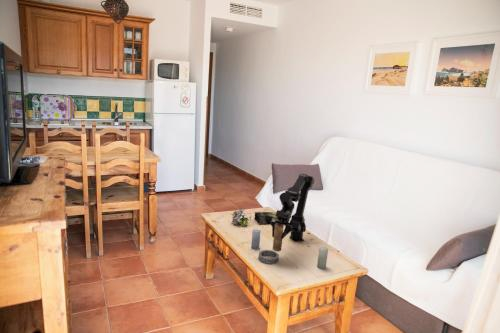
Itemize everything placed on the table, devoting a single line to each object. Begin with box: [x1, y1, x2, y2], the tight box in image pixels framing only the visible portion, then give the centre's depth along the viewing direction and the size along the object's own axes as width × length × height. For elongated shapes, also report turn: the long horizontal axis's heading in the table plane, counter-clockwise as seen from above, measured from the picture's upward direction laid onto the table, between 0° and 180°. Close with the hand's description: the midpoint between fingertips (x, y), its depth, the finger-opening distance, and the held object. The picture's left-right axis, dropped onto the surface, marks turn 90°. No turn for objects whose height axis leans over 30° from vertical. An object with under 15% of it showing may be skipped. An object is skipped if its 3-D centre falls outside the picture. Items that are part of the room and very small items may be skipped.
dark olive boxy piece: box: [253, 211, 278, 225], centre depth 233 cm, size 20×10×6 cm, turn 106°
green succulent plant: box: [231, 208, 252, 228], centre depth 225 cm, size 11×11×12 cm
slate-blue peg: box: [250, 228, 261, 251], centre depth 192 cm, size 4×4×10 cm
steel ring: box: [257, 249, 280, 265], centre depth 181 cm, size 10×10×2 cm
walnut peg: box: [272, 224, 285, 252], centre depth 176 cm, size 4×4×13 cm
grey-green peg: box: [316, 246, 329, 270], centre depth 176 cm, size 4×4×10 cm
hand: (277, 238), depth 175 cm, fingers closed on walnut peg, 4 cm apart
